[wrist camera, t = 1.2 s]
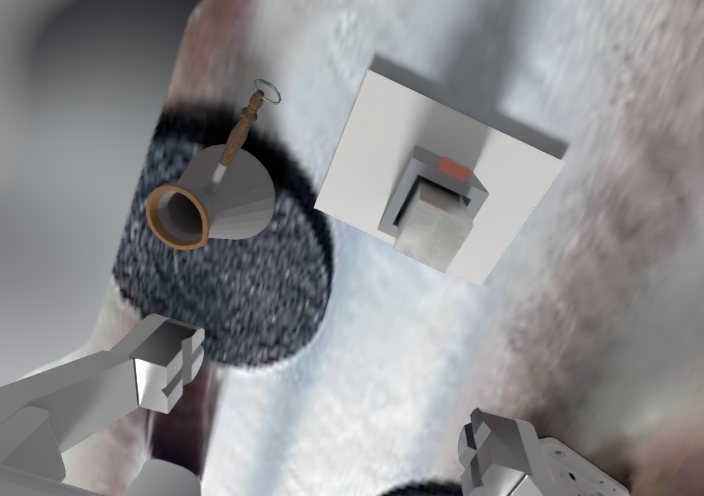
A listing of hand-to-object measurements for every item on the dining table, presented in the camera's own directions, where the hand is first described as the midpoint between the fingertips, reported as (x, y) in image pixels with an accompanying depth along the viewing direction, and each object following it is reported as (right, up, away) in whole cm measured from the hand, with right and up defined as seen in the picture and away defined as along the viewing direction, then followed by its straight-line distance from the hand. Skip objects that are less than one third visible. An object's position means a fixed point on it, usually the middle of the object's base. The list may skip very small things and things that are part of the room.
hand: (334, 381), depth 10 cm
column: (+9, +11, +28) cm, 31 cm away
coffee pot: (-10, +15, +32) cm, 37 cm away
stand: (+9, +11, +30) cm, 33 cm away
